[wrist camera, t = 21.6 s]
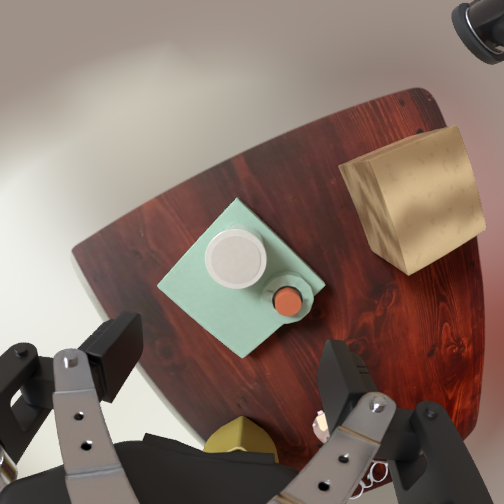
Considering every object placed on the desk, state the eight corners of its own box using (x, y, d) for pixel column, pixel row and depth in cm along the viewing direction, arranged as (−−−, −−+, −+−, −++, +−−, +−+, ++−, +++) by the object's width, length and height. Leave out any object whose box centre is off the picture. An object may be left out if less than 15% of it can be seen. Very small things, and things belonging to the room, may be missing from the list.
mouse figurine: (314, 440, 41) (319, 469, 35) (310, 412, 39) (315, 443, 33) (343, 434, 41) (351, 462, 34) (342, 405, 39) (351, 435, 33)
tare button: (287, 282, 31) (288, 287, 30) (305, 298, 32) (307, 304, 30) (269, 299, 32) (269, 305, 30) (286, 315, 32) (288, 321, 31)
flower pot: (203, 424, 41) (195, 465, 32) (242, 402, 39) (238, 446, 30) (241, 448, 42) (238, 488, 33) (279, 429, 41) (282, 471, 32)
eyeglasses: (344, 489, 46) (347, 505, 41) (275, 479, 45) (275, 498, 40) (391, 452, 43) (398, 469, 38) (321, 439, 41) (326, 460, 36)
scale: (238, 197, 32) (235, 198, 29) (324, 281, 34) (331, 292, 31) (161, 281, 35) (152, 291, 32) (245, 352, 37) (243, 367, 34)
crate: (337, 165, 31) (368, 160, 21) (410, 135, 30) (457, 124, 20) (371, 250, 33) (408, 276, 24) (438, 216, 32) (486, 229, 22)
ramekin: (214, 220, 31) (207, 225, 27) (269, 226, 31) (271, 233, 27) (209, 273, 32) (202, 285, 29) (262, 279, 32) (262, 293, 29)
